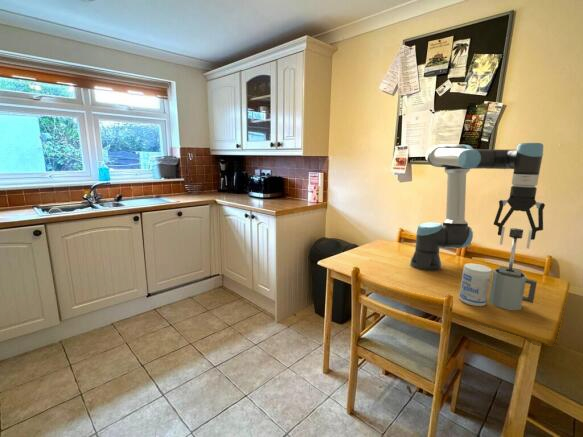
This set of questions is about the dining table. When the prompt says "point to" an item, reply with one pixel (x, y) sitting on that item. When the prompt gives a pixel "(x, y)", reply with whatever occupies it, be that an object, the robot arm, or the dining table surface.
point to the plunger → (514, 245)
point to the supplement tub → (475, 284)
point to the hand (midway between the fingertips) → (514, 245)
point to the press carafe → (510, 288)
